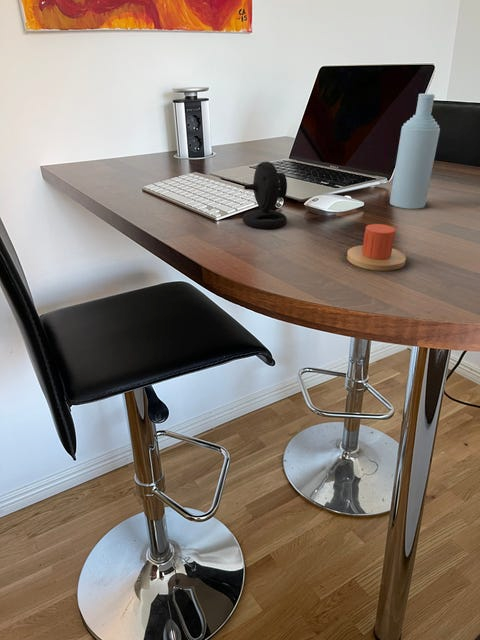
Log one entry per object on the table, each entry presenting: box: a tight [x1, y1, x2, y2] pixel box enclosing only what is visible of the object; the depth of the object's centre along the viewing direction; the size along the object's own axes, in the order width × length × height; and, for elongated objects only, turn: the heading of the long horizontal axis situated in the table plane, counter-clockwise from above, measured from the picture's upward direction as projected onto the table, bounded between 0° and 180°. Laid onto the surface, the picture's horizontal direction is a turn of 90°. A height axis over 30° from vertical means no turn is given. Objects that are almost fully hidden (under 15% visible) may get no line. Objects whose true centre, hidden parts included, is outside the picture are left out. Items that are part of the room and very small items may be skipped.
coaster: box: [346, 244, 407, 272], centre depth 70 cm, size 8×8×1 cm
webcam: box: [242, 161, 288, 230], centre depth 82 cm, size 8×8×10 cm
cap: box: [362, 223, 396, 259], centre depth 69 cm, size 4×4×4 cm
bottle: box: [389, 93, 441, 210], centre depth 92 cm, size 7×7×20 cm
